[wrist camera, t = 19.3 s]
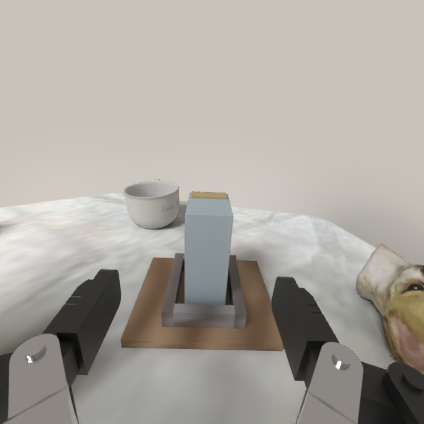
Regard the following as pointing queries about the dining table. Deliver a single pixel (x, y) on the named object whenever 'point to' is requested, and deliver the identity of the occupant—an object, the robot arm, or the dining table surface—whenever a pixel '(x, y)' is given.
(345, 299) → the dining table surface
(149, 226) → the teacup
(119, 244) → the dining table surface
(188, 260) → the keyed plug
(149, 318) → the keyed seat
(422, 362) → the ceramic sculpture
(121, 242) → the dining table surface
